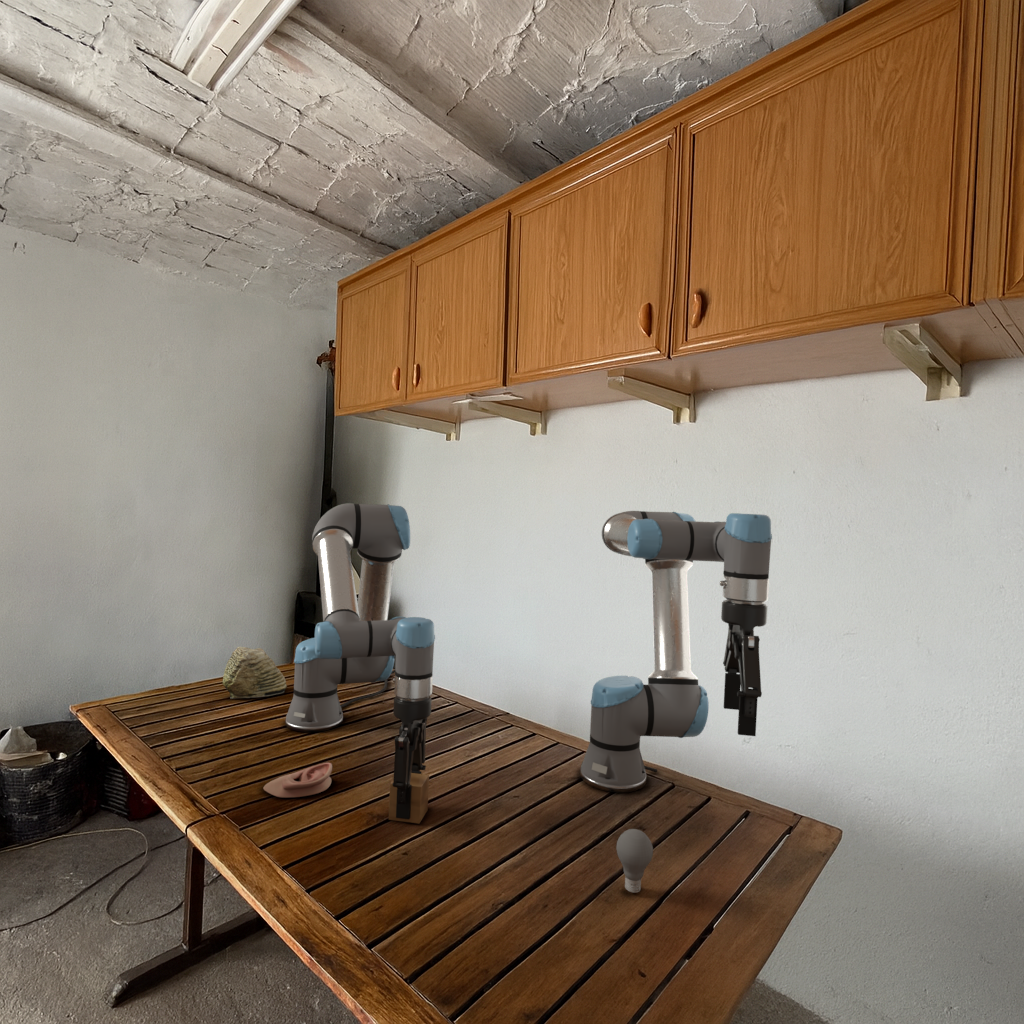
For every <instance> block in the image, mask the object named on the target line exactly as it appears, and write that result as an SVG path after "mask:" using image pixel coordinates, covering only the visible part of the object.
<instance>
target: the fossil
mask: <svg viewBox="0 0 1024 1024" xmlns="http://www.w3.org/2000/svg"><path fill="white" fill-rule="evenodd" d="M222 676H223V677H222V685H223V687H224V688H225V690H226V691H228V693H229V698H230V699H250V698H264V697H271V696H275V695H281V694H284V693H285V691H286V689H287V687H288V686H287V680H286V678H285V676H284V674H283V673H282V672H281V669H279V668H278V667H277V665H276V663H275V662H274V660H273V659H272V658H271V657H270V656H269V655H268V654H267V653H266V652H265V650H264V649H263V648H260V647H258V648H251V647H247V646H246V647H245V646H238V647H237V648H236V649H235V650H233V651H232V653H231V656H230V657H229V659H228V660H227V663H226V666H225V668H224V671H223V675H222Z"/></svg>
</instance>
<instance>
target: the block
mask: <svg viewBox="0 0 1024 1024" xmlns="http://www.w3.org/2000/svg"><path fill="white" fill-rule="evenodd" d="M393 780H394V778H393V779H392V780H391V781H390V783H389V799H388V800H389V801H388V821H394V822H395V821H397V822H402V823H412V824H420V823H421V821H422V820H423V819H424V817H425V815H426V813H428V810H429V789H430V788H429V787H430V774H425V773H421V774H417V773H411V779H410V785H412V788H411V813H410V819H402V818H396V804H397V787H393Z"/></svg>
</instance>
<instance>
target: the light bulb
mask: <svg viewBox="0 0 1024 1024" xmlns="http://www.w3.org/2000/svg"><path fill="white" fill-rule="evenodd" d="M615 849H616V854H617V857H618V859H619V861H620V863H621V865H622V867H623V873H624V874H623V875H624V876H625V878H624V888H625V890H627V891H628V892H630V893H634V894H635V893H639V892H640V891H641V889H642V887H641V886H642V879H643V877H644V875H645V871H646V868H647V867H648V866H649V864H650V863H651V861H652V859H653V855H654V847H653V843H652V841H651V838H649V836H648V835H647V834H646V833H645V832H643V831H642V830H641V829H636V828H629V829H627V830H625V831H623V832H622V833H621V834H620V835H619V837H618V839H617V841H616V847H615Z"/></svg>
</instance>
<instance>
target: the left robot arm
mask: <svg viewBox="0 0 1024 1024" xmlns="http://www.w3.org/2000/svg"><path fill="white" fill-rule="evenodd" d="M311 540H312V541H311V542H312V543H311V544H312V550H313V552H314V553H315V555H316V556H317V562H318V573H319V584H320V599H321V609H322V611H321V612H322V621H320V622H317V623H316V624H315V628H314V637H311V638H308V639H305V640H303V641H301V642H299V643H298V644H297V645H296V648H295V655H294V660H293V663H294V680H293V695H292V696H293V697H292V699H291V702H290V704H289V708H288V711H287V713H286V715H285V726H286V728H287V729H289V730H291V731H294V732H295V731H296V732H301V733H316V732H325V731H329V730H332V729H335V728H337V727H339V726H340V725H342V723H343V722H344V714H343V709H342V708H345V707H346V706H348V705H350V704H352V703H354V702H357V701H358V702H359V701H362V700H365V699H366V700H367V699H370V698H373V697H376V696H378V695H380V694H383V693H384V692H385V691H386V689H387V688H388V679H389V678H390V676H391V675H393V674H394V677H393V678H392V682H393V683H394V698H393V709H392V710H393V711H392V713H393V716H394V717H395V719H396V718H397V719H399V720H400V721H401V725H400V726H399V730H398V735H399V736H397V735H396V736H395V737H394V761H393V762H394V765H393V779H394V780H393V779H392V780H393V787H397V804H396V818H402V819H410V813H411V788H412V785H410V779H411V773H417V774H422V771H423V772H424V771H426V768H427V765H426V764H425V762H426V737H427V722H428V718H429V717H430V716H431V714H432V701H433V700H432V699H433V698H432V697H431V695H433V679H434V678H433V676H434V674H433V672H434V653H435V640H436V634H435V623H434V622H433V620H432V619H430V618H426V617H419V616H412V617H411V616H410V617H407V616H401V615H400V616H399V615H397V616H395V617H392V618H390V619H388V618H389V610H390V603H391V602H390V601H391V593H392V587H393V586H392V585H393V579H394V571H395V564H396V563H395V562H396V561H398V560H400V559H401V557H402V552H403V551H406V550H408V549H410V547H411V526H410V520H409V514H408V512H407V510H406V509H405V507H404V506H402V505H395V504H389V503H388V504H375V503H370V504H369V503H352V502H351V503H350V502H347V503H342V504H338V505H336V506H334V507H332V508H330V509H329V510H327V511H326V512H325V513H324V514H323V515H322V516H321V517H320V518H319V520H318V522H317V523H316V525H315V527H314V529H313V532H312V537H311ZM352 549H354V550H355V549H356V550H357V551H356V552H357V555H358V556H359V557H360V558H361V566H360V567H361V568H360V577H359V587H358V596H357V591H356V584H355V583H356V582H355V576H354V568H353V563H352V562H353V561H352V555H351V551H352ZM394 664H395V665H394ZM394 666H395V669H394ZM383 681H384V686H383V688H381V689H380V690H378V691H377V692H374V693H371V694H367V695H363V696H359V697H355V698H353V699H352V698H351V699H350V700H348V701H346V702H344V703H342V704H341V702H340V699H339V695H338V685H349V684H364V683H370V684H374V683H377V682H378V683H379V682H383Z"/></svg>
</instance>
